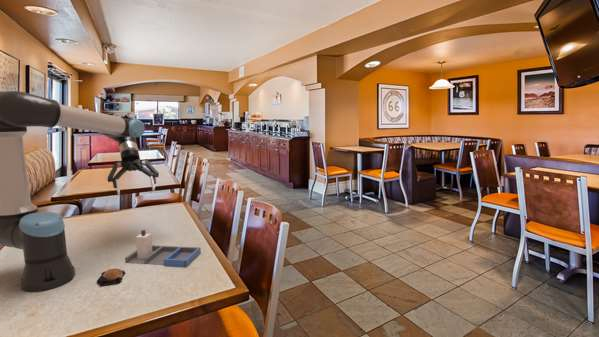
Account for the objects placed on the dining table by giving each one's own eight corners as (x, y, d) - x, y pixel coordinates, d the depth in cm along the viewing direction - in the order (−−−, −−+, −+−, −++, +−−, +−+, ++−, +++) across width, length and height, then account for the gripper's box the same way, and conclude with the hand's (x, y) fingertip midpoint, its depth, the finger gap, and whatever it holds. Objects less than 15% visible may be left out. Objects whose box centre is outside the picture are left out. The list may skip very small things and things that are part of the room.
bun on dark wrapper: (100, 275, 119) (99, 266, 119) (126, 271, 123) (125, 262, 122) (95, 289, 110) (93, 279, 109) (123, 285, 113) (122, 275, 112)
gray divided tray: (185, 267, 124) (184, 260, 124) (123, 264, 127) (123, 257, 127) (200, 253, 138) (200, 246, 138) (144, 250, 141) (144, 243, 141)
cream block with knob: (146, 258, 131) (144, 231, 130) (137, 258, 132) (135, 231, 130) (152, 254, 135) (150, 228, 134) (143, 254, 136) (141, 228, 134)
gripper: (158, 156, 160) (166, 192, 150) (98, 160, 147) (103, 200, 137) (159, 146, 155) (168, 183, 145) (97, 149, 142) (102, 190, 132)
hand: (136, 191), depth 141 cm, fingers open, 13 cm apart
